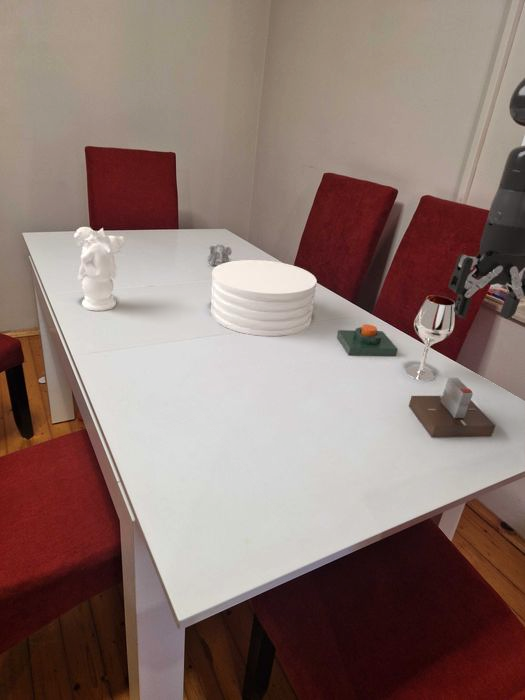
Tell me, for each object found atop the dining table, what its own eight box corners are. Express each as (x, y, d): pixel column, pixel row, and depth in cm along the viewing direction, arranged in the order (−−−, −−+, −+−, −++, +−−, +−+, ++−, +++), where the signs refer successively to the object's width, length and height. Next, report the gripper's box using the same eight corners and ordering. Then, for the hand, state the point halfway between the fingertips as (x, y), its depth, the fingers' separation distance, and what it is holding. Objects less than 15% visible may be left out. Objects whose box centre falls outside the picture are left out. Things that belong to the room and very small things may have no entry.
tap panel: (463, 405, 92) (467, 394, 91) (491, 436, 84) (496, 424, 83) (408, 406, 91) (411, 394, 89) (431, 437, 82) (435, 425, 81)
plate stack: (331, 326, 123) (338, 286, 118) (242, 343, 109) (245, 299, 104) (275, 292, 144) (278, 256, 138) (194, 303, 129) (194, 264, 124)
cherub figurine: (75, 301, 123) (66, 219, 113) (118, 293, 131) (113, 216, 121) (93, 316, 115) (86, 230, 105) (138, 307, 123) (135, 226, 113)
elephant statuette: (225, 260, 170) (226, 240, 167) (239, 270, 161) (240, 248, 158) (202, 262, 166) (202, 241, 162) (215, 272, 157) (216, 250, 153)
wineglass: (420, 386, 98) (442, 309, 90) (393, 369, 104) (412, 295, 96) (445, 379, 102) (469, 305, 94) (418, 363, 108) (438, 291, 100)
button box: (380, 338, 119) (383, 324, 117) (395, 356, 110) (399, 342, 108) (336, 337, 117) (339, 323, 115) (348, 356, 108) (351, 341, 106)
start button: (372, 330, 114) (373, 324, 113) (377, 337, 110) (379, 330, 110) (358, 330, 113) (360, 324, 112) (363, 336, 110) (365, 330, 109)
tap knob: (440, 401, 88) (448, 376, 86) (449, 401, 89) (458, 376, 86) (454, 418, 83) (463, 392, 81) (464, 418, 84) (473, 392, 81)
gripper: (538, 218, 74) (506, 309, 82) (458, 213, 72) (433, 308, 79) (571, 228, 68) (534, 326, 75) (486, 223, 66) (455, 325, 73)
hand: (482, 317), depth 77 cm, fingers open, 8 cm apart
